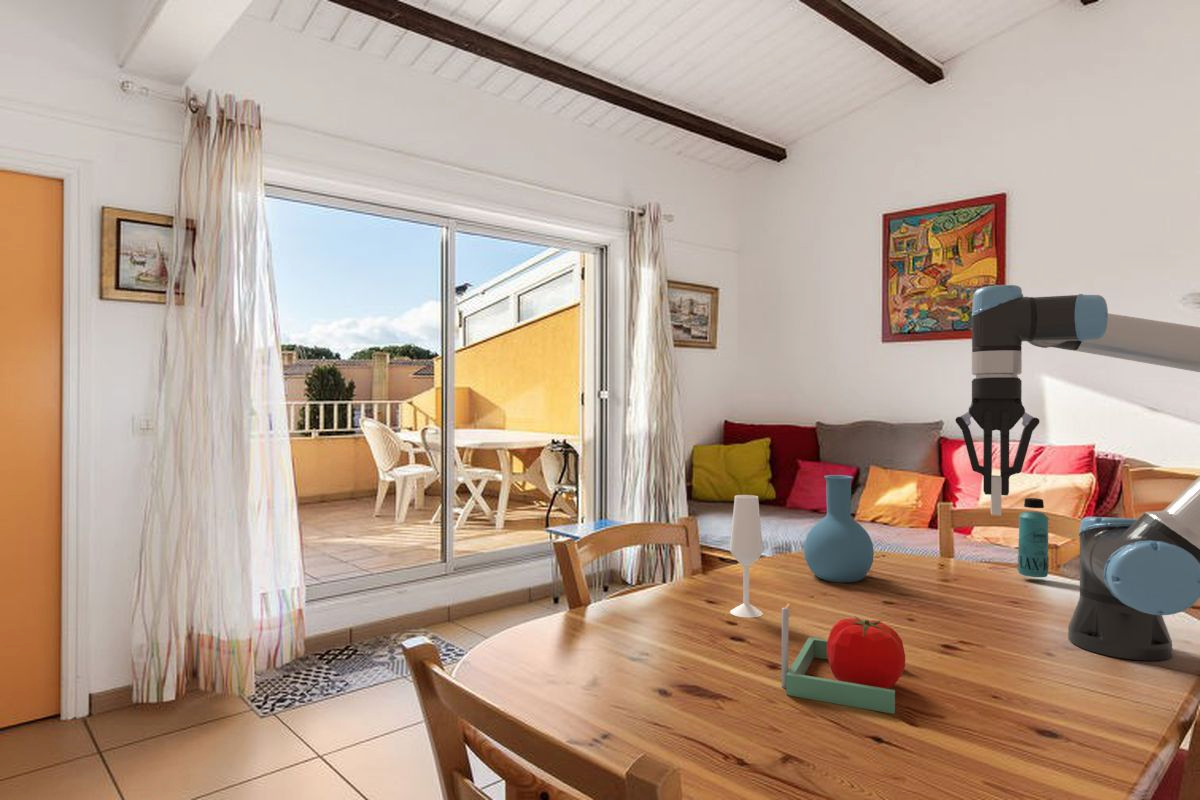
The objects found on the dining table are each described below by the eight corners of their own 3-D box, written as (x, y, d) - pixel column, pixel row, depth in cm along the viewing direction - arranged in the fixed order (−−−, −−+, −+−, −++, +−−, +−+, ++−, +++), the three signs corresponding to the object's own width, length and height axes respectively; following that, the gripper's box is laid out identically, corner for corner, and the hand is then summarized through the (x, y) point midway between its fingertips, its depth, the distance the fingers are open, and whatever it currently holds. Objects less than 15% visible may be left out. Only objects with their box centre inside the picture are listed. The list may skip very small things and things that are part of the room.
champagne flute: (728, 616, 148) (728, 498, 148) (730, 607, 154) (730, 493, 154) (762, 618, 146) (762, 499, 146) (763, 609, 153) (763, 494, 153)
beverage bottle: (1011, 578, 179) (1011, 497, 179) (1032, 576, 181) (1032, 496, 181) (1034, 584, 173) (1034, 500, 173) (1055, 582, 175) (1056, 499, 175)
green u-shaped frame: (902, 668, 119) (903, 595, 119) (894, 713, 102) (894, 628, 102) (801, 653, 126) (801, 584, 126) (777, 693, 109) (777, 613, 109)
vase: (880, 575, 182) (880, 475, 182) (866, 589, 168) (866, 481, 168) (814, 567, 191) (814, 471, 191) (795, 580, 177) (795, 477, 177)
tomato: (809, 679, 115) (809, 614, 115) (860, 666, 120) (861, 604, 120) (869, 708, 104) (869, 636, 104) (923, 692, 110) (923, 624, 109)
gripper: (1038, 376, 126) (1037, 513, 126) (954, 377, 131) (953, 508, 131) (1042, 375, 119) (1042, 520, 119) (954, 376, 125) (953, 514, 125)
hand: (996, 513), depth 125 cm, fingers closed
